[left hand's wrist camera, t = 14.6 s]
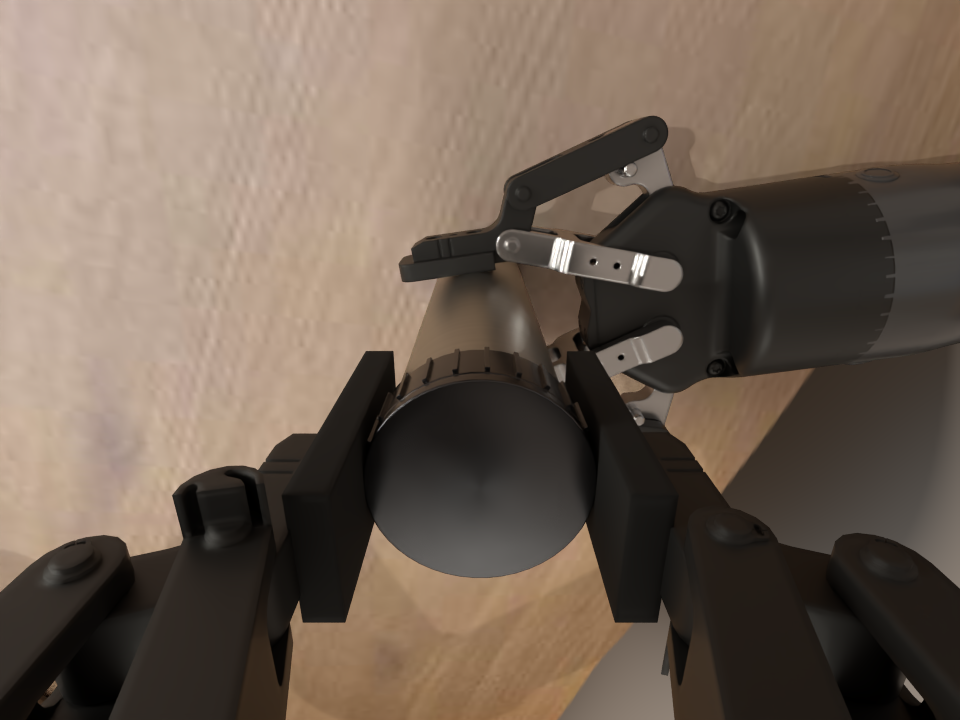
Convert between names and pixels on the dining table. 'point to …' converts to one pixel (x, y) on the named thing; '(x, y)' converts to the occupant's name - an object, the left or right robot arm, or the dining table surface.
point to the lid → (480, 465)
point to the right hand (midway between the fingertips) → (416, 328)
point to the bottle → (481, 318)
